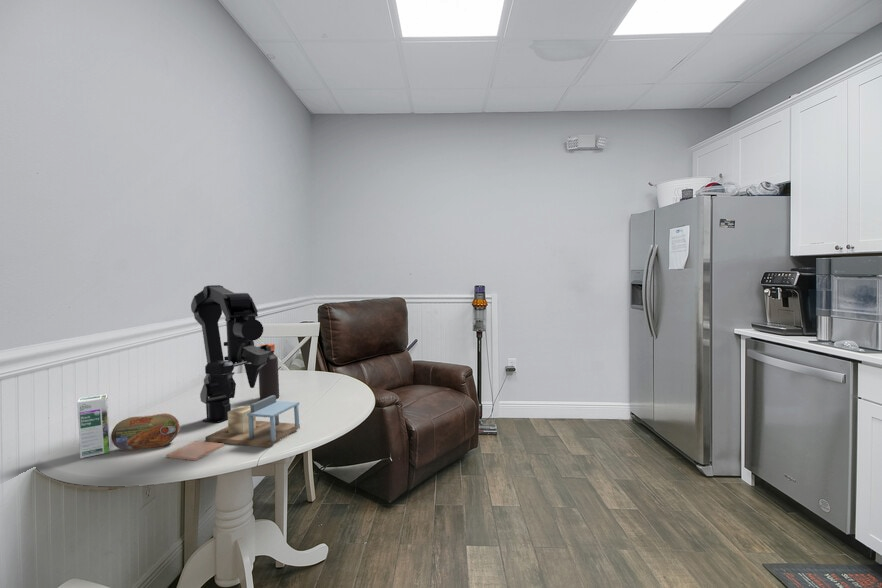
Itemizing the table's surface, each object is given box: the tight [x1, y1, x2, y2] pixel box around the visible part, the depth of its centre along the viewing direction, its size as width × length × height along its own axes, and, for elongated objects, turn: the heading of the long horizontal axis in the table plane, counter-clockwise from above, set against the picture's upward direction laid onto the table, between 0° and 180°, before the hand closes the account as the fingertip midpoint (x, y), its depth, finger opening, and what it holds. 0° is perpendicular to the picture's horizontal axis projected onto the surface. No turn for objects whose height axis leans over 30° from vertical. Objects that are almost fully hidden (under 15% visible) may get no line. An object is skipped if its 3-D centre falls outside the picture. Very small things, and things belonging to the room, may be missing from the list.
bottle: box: [258, 343, 280, 401], centre depth 151 cm, size 7×7×20 cm
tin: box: [110, 413, 180, 452], centre depth 109 cm, size 15×3×8 cm, turn 106°
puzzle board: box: [204, 420, 301, 448], centre depth 115 cm, size 20×14×1 cm
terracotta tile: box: [165, 440, 225, 461], centre depth 105 cm, size 9×9×1 cm
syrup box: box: [76, 393, 111, 459], centre depth 106 cm, size 6×6×14 cm
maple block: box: [227, 405, 257, 434], centre depth 116 cm, size 5×5×7 cm
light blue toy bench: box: [247, 395, 300, 441], centre depth 113 cm, size 8×12×9 cm
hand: (240, 392), depth 116 cm, fingers open, 9 cm apart
